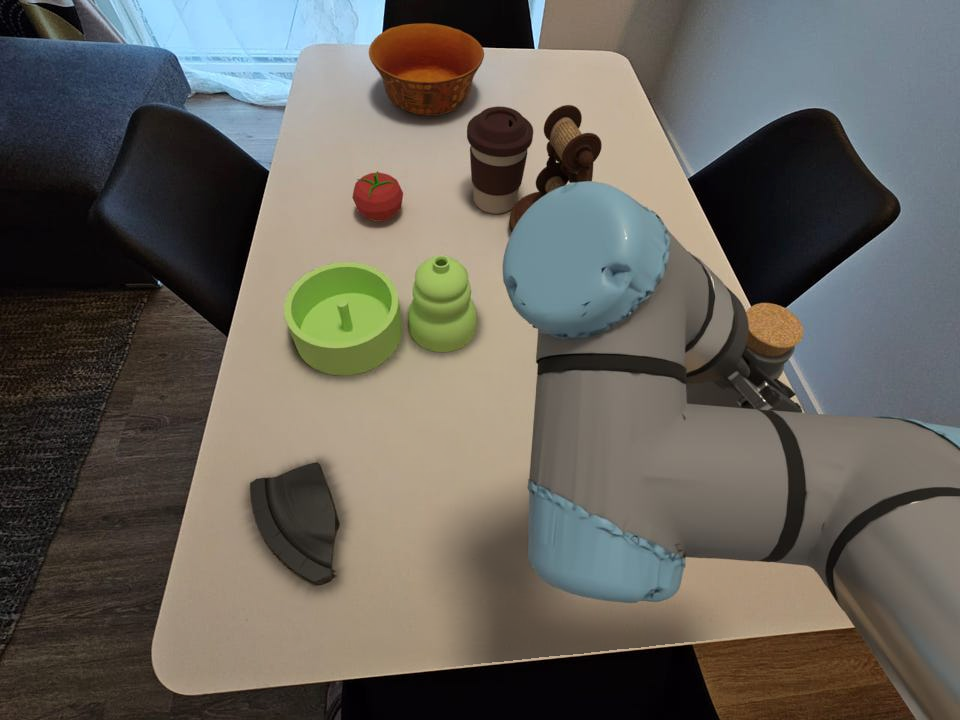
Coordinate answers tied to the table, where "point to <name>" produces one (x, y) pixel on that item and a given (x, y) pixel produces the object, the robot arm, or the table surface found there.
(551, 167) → the wooden spool holder
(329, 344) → the green rounded pieces
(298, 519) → the fan shaped piece
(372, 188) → the tomato
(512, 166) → the coffee cup
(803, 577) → the table surface
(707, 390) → the bottle
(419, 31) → the bowl
